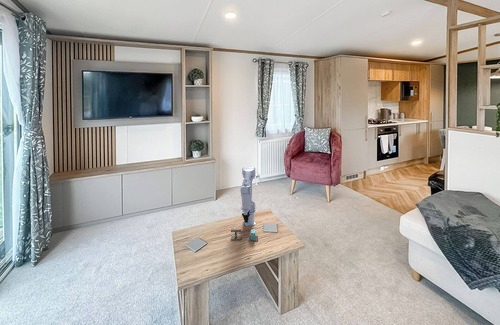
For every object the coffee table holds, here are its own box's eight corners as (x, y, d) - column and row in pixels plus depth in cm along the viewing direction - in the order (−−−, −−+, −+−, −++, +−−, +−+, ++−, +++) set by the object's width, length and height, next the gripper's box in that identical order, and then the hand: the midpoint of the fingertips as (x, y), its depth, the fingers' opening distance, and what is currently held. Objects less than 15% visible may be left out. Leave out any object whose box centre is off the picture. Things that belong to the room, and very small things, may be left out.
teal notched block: (251, 236, 184) (251, 229, 183) (255, 236, 184) (255, 229, 183) (250, 240, 179) (250, 233, 178) (255, 240, 179) (254, 233, 178)
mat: (249, 236, 185) (249, 235, 185) (258, 236, 185) (258, 235, 185) (248, 241, 179) (248, 240, 179) (257, 241, 179) (257, 240, 178)
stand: (231, 236, 186) (231, 228, 184) (241, 236, 185) (241, 228, 184) (230, 240, 181) (230, 231, 179) (240, 240, 180) (240, 231, 179)
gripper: (241, 198, 191) (242, 215, 194) (239, 206, 177) (240, 224, 180) (250, 198, 191) (251, 215, 194) (249, 206, 177) (250, 224, 180)
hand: (246, 220), depth 187 cm, fingers open, 7 cm apart
